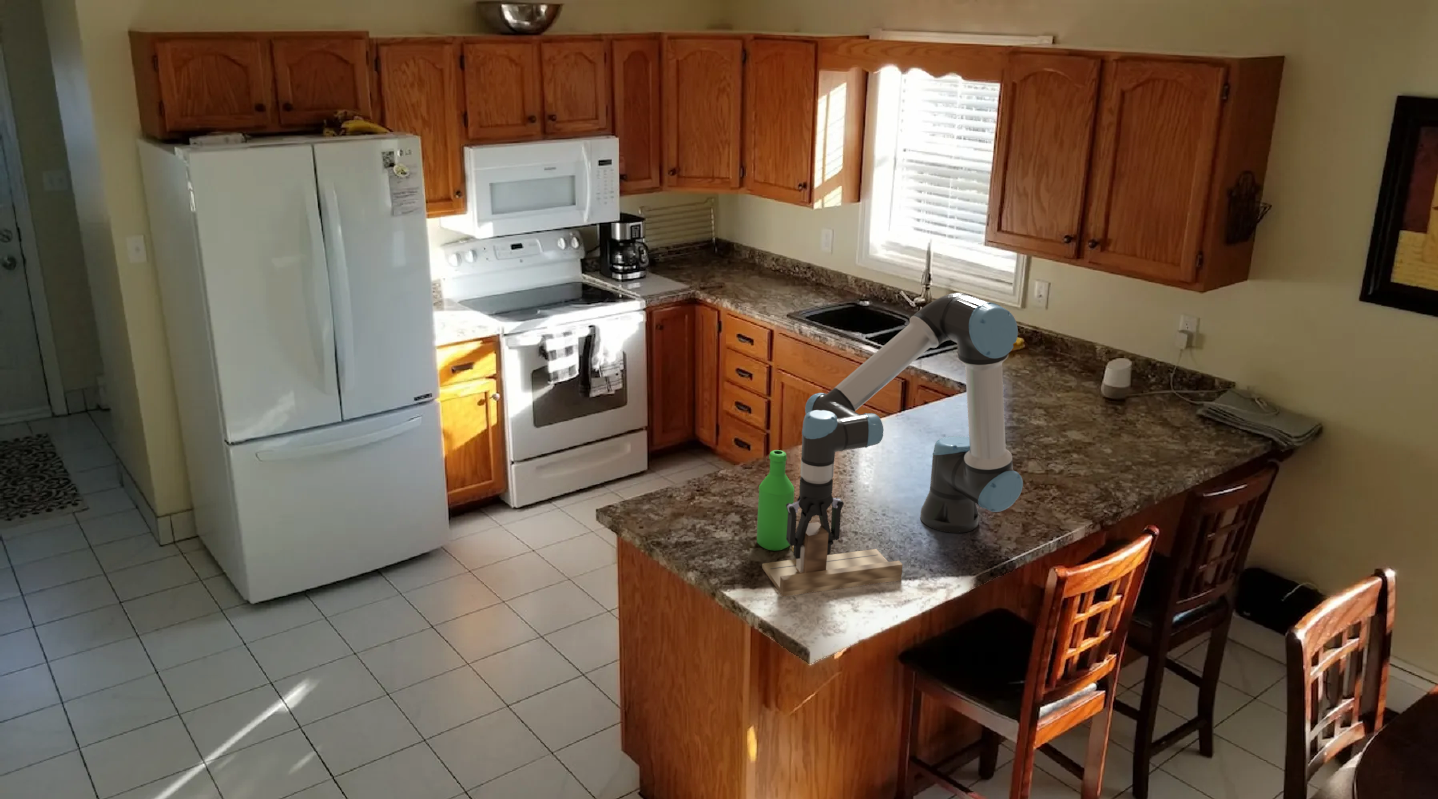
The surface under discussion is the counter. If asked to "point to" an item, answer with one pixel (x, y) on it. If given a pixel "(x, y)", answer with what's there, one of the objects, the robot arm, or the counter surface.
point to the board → (828, 567)
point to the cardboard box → (815, 548)
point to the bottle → (774, 504)
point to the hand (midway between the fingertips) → (811, 567)
